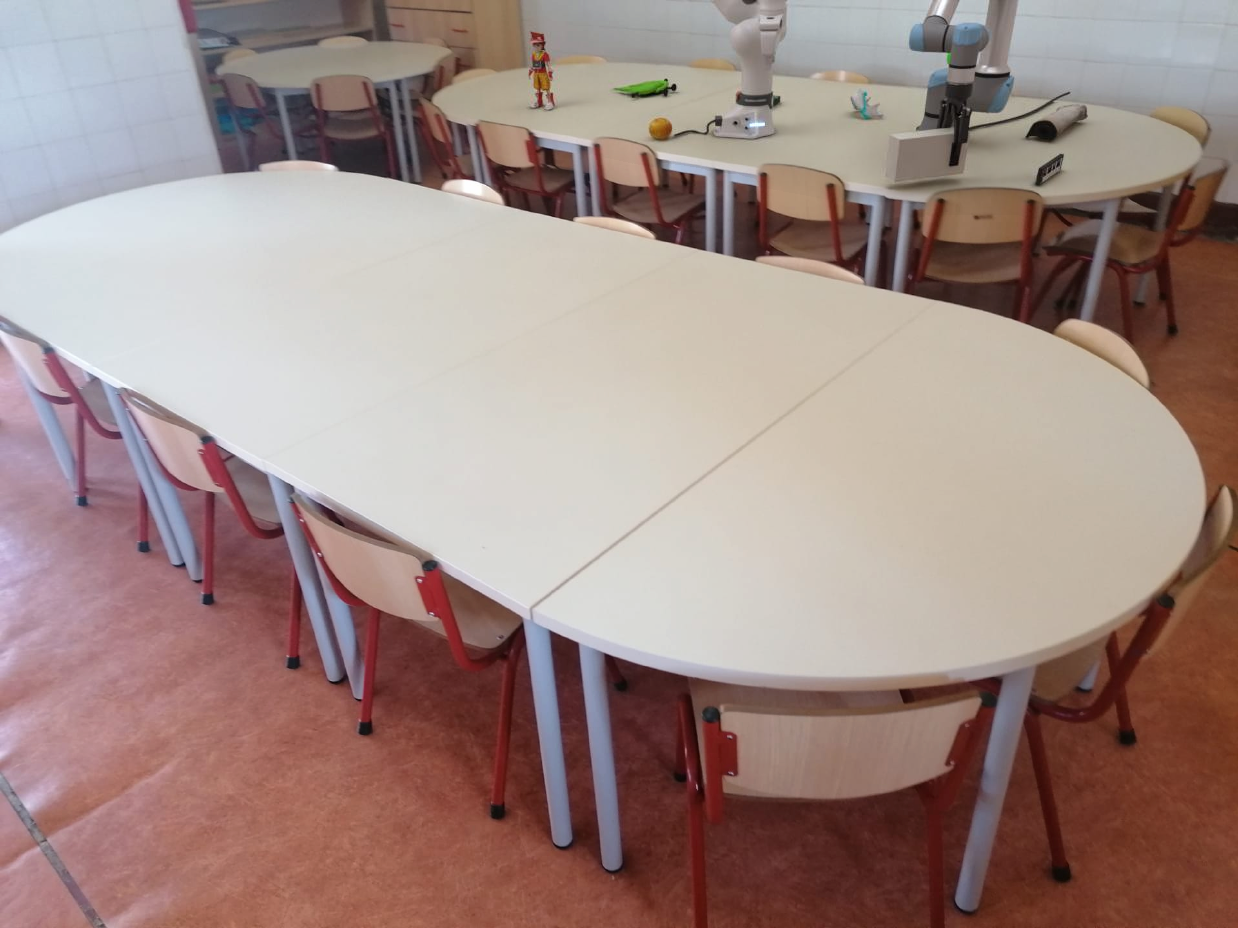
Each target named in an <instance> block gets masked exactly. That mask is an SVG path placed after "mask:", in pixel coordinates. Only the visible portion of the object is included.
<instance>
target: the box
mask: <svg viewBox="0 0 1238 928" xmlns="http://www.w3.org/2000/svg"><path fill="white" fill-rule="evenodd" d="M970 136H971V130H969V133H968V141H967V143H963V144H962V147H961V153H960V157H959V163H958V166H949V161H950V155H951V148H952V143H954V127H951V128H942V129H933V130H924V131H918V130H917V131H916V130H915V131H908V132H901V133H892V134H891V133H890V134H889V139H888V147H887V154H886V165H885V172H884V177H885V178H886V179H889V180H890V181H892V182H893V183H899V182H907V181H916V180H923V179H930V178H939V177H947V176H954V175H962V174H963V175H964V172H965V168H966V167H965V166H966V161H967V155H968V150H969V149H968V148H969V143H970Z"/></svg>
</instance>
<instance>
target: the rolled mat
mask: <svg viewBox="0 0 1238 928" xmlns="http://www.w3.org/2000/svg"><path fill="white" fill-rule="evenodd" d="M1088 116H1089V115H1088V108H1087V105H1085V104H1079V103H1075V104H1068V105H1062V106H1059V107H1057V108H1056V109H1055V111H1053V112H1052V113H1049V114H1048V115H1046V116H1044V117H1042V118H1040V119H1039V120H1037V121H1035V122H1033V124H1032V125H1031V126H1030V128H1029V130H1028V131H1027V133H1026V135H1025V137H1024V138H1025V139H1026V140H1027V139H1029V138H1030V137H1035V138H1037V139H1039V140H1040V141H1045V142H1053V141H1054V140H1055V139H1057V138H1058V137H1059V136H1060V135H1061V134H1062V133H1063V131H1064V130H1065V129H1067V128H1068V127H1069V126H1071V125H1072V124H1074V123H1076V122H1079V121H1080V122H1081V121H1085V120H1086V119H1087V118H1088Z"/></svg>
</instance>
